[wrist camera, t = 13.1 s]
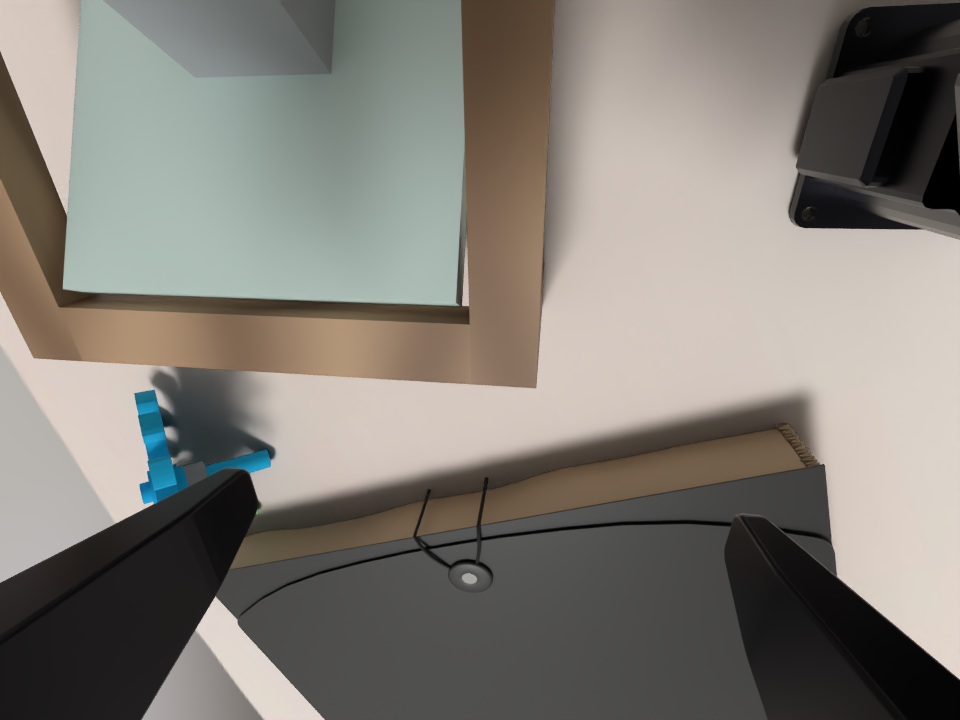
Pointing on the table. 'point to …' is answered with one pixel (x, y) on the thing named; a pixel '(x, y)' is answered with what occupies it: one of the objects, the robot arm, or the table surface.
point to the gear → (162, 472)
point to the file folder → (535, 591)
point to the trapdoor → (273, 167)
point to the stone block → (238, 34)
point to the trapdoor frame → (323, 325)
